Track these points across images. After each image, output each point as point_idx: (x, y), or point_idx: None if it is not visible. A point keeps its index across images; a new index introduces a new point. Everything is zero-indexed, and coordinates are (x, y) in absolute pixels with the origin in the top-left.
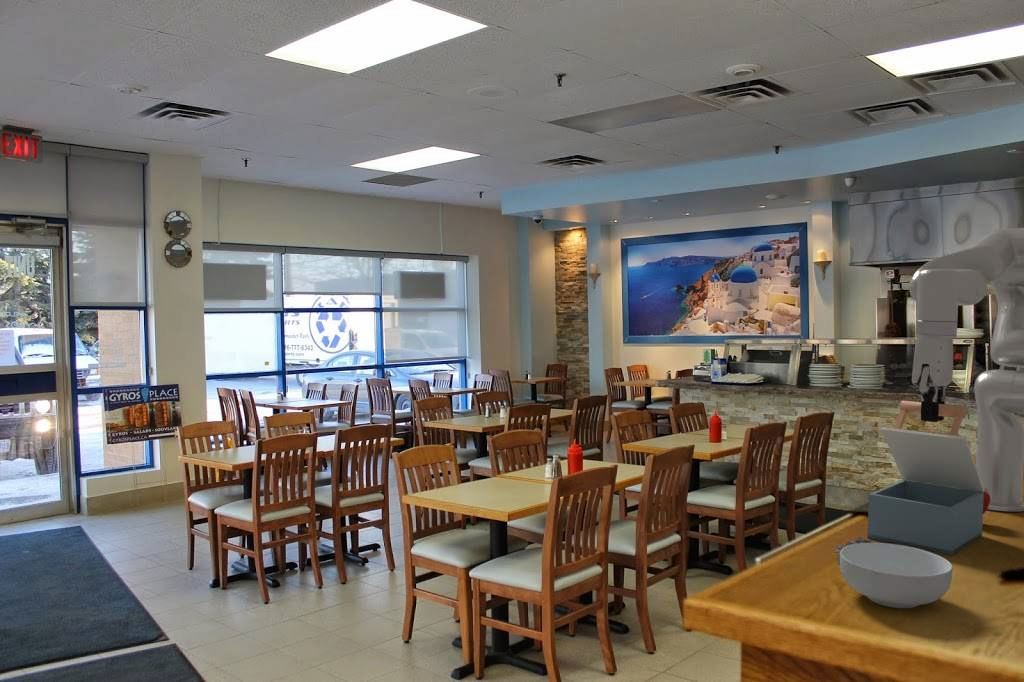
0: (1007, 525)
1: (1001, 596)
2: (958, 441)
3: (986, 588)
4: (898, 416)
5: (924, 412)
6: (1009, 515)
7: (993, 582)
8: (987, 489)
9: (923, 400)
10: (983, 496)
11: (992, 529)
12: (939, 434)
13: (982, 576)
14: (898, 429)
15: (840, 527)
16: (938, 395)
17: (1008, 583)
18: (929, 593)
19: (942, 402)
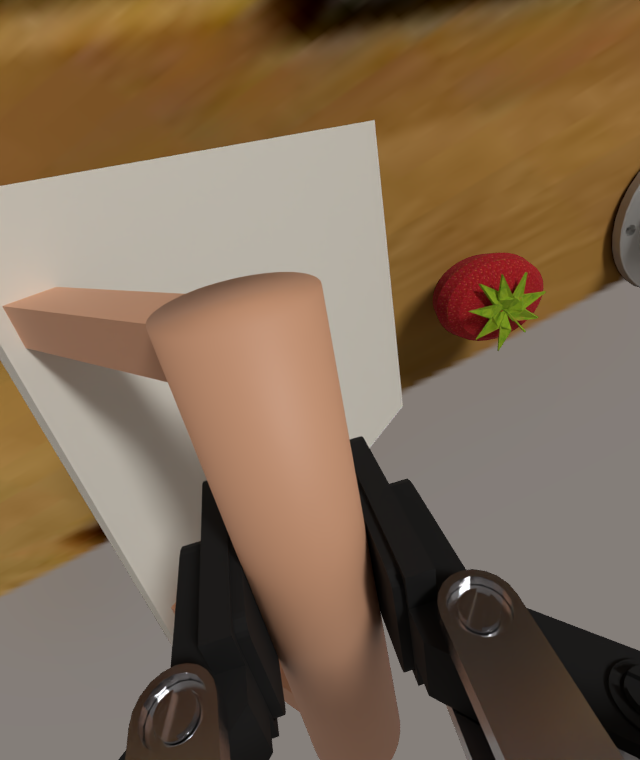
0: None
1: (4, 573)
2: None
3: (15, 544)
4: (85, 320)
5: (179, 577)
6: (590, 284)
7: (62, 530)
8: (498, 348)
9: (151, 710)
10: (474, 338)
11: (431, 332)
12: (140, 586)
13: (73, 505)
14: (11, 361)
15: (44, 35)
16: (468, 707)
17: (86, 542)
18: None
19: (409, 668)
